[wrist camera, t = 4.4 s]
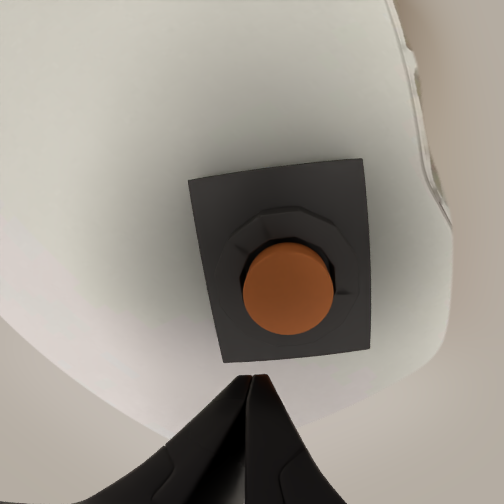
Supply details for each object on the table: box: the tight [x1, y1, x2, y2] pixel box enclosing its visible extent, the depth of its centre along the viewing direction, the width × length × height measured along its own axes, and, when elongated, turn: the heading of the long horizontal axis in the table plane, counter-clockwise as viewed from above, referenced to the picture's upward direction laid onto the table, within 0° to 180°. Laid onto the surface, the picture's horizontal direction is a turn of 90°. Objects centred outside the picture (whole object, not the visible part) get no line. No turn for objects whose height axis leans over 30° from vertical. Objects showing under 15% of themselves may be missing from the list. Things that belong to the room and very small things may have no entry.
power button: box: [243, 242, 334, 335], centre depth 15 cm, size 4×4×2 cm
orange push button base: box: [188, 158, 371, 363], centre depth 17 cm, size 11×9×4 cm
